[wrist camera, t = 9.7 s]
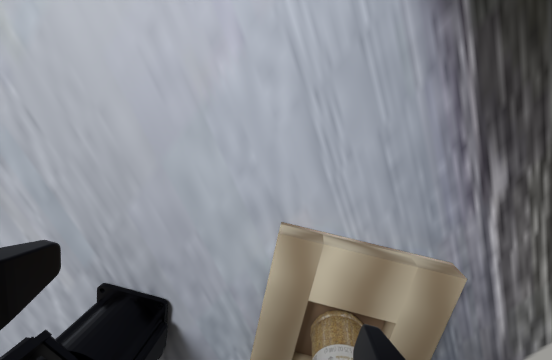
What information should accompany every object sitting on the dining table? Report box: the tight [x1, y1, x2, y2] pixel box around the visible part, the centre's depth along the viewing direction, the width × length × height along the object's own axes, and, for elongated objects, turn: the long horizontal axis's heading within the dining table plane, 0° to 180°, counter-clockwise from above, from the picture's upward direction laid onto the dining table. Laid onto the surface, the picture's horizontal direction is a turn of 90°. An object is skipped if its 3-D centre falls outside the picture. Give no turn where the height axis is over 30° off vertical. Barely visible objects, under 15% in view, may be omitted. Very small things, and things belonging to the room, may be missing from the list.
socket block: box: [250, 222, 467, 360], centre depth 22 cm, size 13×16×2 cm
